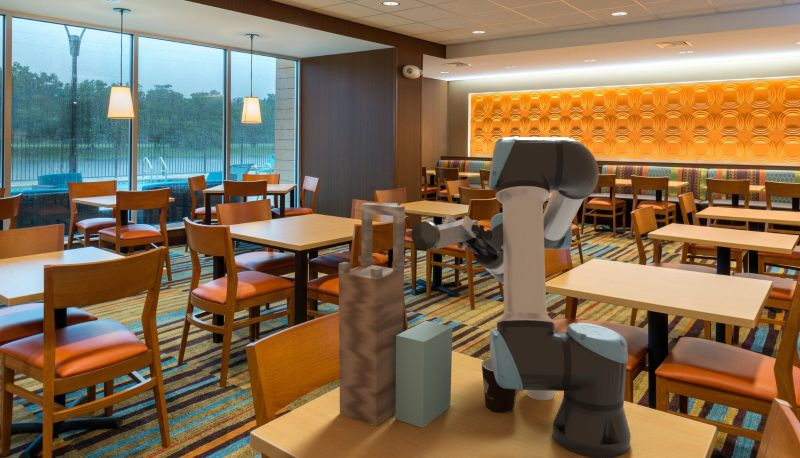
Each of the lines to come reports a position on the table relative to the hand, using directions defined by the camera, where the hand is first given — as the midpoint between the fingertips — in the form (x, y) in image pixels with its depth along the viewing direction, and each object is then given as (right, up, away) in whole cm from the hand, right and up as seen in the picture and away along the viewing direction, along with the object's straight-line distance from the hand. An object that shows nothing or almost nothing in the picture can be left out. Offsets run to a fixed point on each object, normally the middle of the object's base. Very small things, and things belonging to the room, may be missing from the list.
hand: (455, 220), depth 136 cm
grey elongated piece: (-2, -5, -2) cm, 6 cm away
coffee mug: (+10, -42, 0) cm, 44 cm away
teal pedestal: (-8, -43, -5) cm, 44 cm away
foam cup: (+21, -42, +5) cm, 47 cm away
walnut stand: (-19, -43, -4) cm, 47 cm away
